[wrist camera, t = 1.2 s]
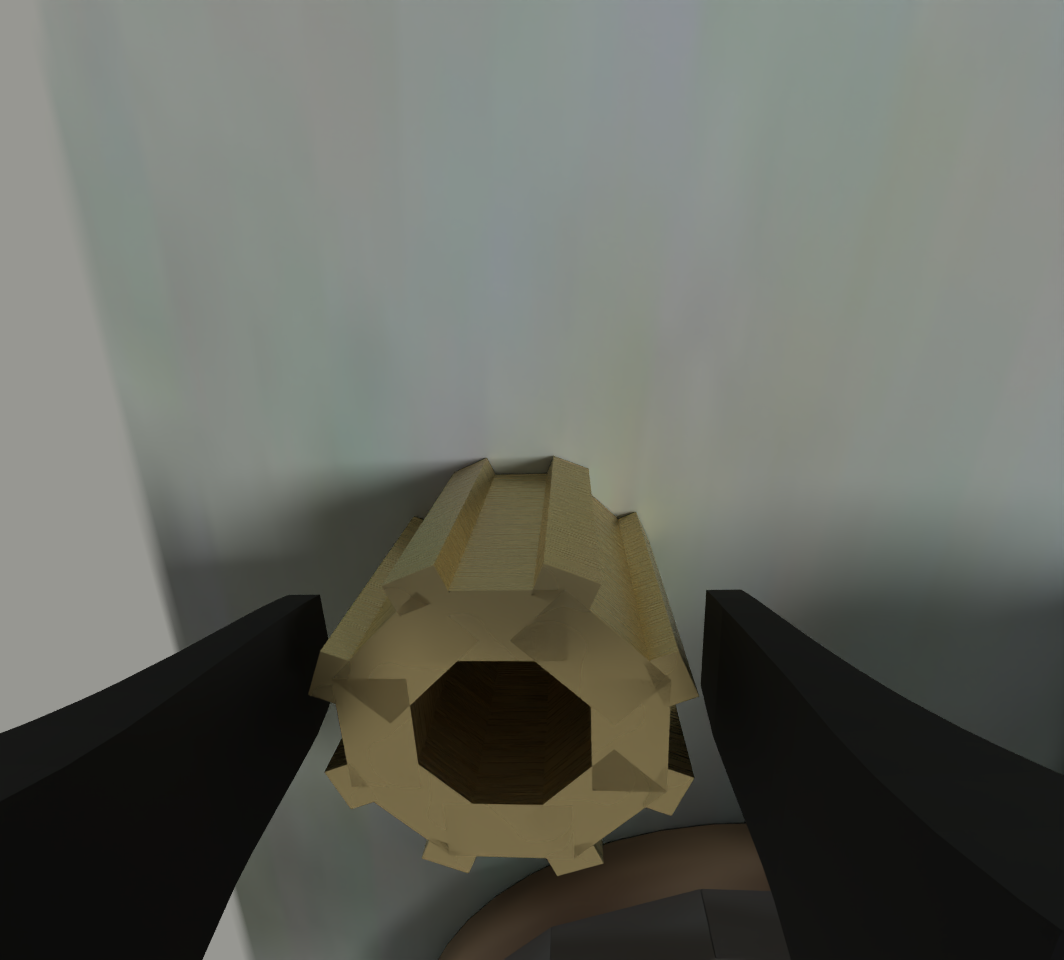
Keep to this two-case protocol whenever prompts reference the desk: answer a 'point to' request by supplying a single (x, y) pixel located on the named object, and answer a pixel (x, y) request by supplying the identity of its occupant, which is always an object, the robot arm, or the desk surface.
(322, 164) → the desk surface
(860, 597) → the desk surface
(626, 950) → the gear carrier
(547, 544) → the planet gear
